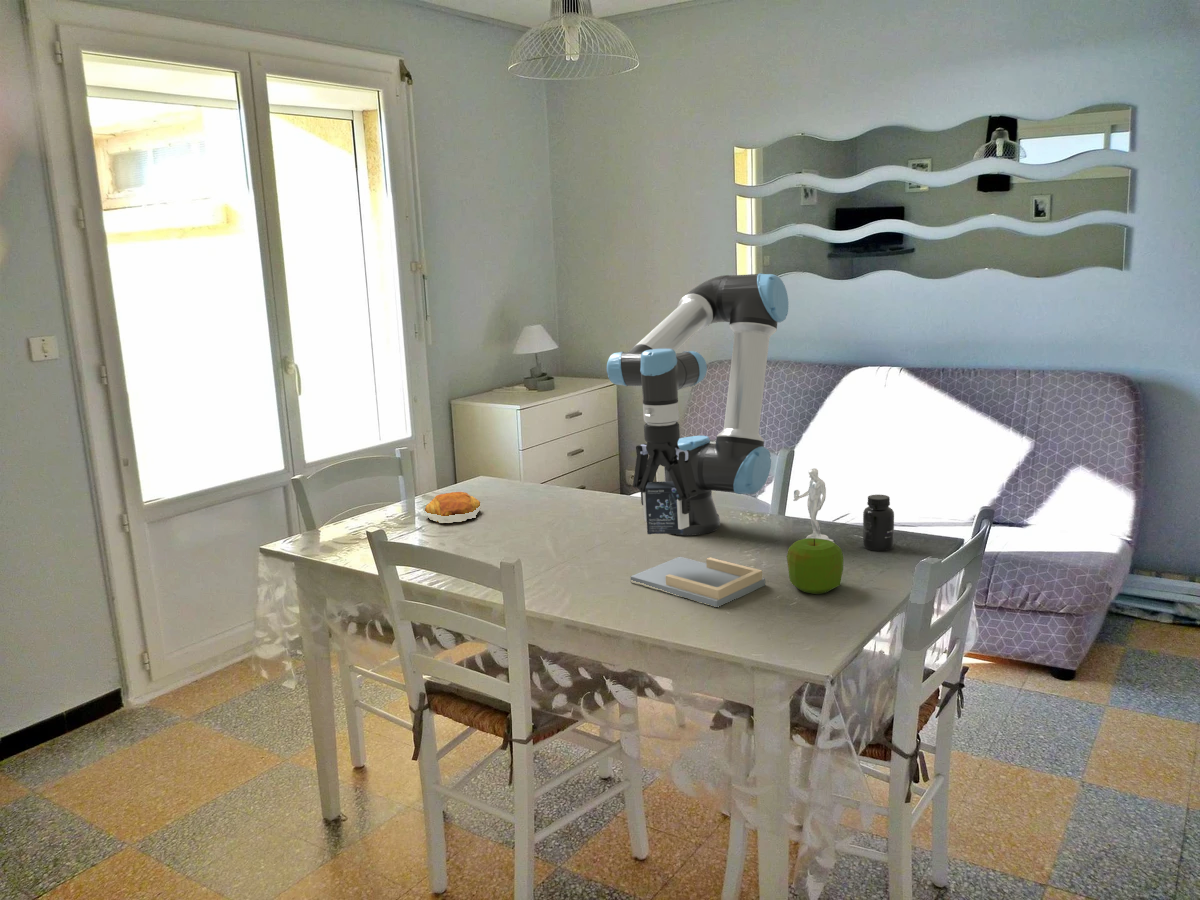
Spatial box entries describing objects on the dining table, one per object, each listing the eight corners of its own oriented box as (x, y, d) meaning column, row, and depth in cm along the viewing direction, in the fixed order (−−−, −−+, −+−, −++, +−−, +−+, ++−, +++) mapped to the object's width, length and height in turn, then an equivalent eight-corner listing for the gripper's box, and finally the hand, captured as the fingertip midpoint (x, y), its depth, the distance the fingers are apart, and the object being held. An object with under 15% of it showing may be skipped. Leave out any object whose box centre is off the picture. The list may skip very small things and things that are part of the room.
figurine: (792, 539, 229) (790, 466, 225) (816, 534, 231) (815, 462, 227) (812, 549, 221) (810, 474, 217) (836, 544, 224) (836, 469, 220)
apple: (853, 586, 197) (852, 535, 195) (824, 601, 190) (823, 549, 187) (807, 575, 205) (806, 526, 203) (777, 589, 198) (776, 539, 195)
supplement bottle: (895, 552, 216) (895, 500, 213) (864, 551, 217) (863, 501, 214) (892, 542, 222) (892, 492, 220) (862, 542, 224) (861, 493, 221)
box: (647, 535, 205) (644, 487, 203) (649, 527, 211) (647, 481, 208) (683, 534, 204) (681, 486, 202) (685, 526, 209) (683, 480, 207)
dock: (630, 582, 207) (629, 567, 206) (679, 562, 218) (679, 548, 217) (716, 608, 190) (715, 591, 189) (765, 585, 201) (764, 569, 200)
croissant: (428, 521, 273) (421, 494, 272) (481, 508, 275) (475, 481, 274) (428, 534, 259) (421, 506, 258) (484, 520, 261) (477, 492, 260)
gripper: (612, 420, 208) (618, 519, 212) (688, 430, 192) (693, 537, 196) (636, 415, 213) (641, 511, 217) (712, 424, 197) (716, 528, 201)
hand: (666, 523), depth 207 cm, fingers closed on box, 9 cm apart
